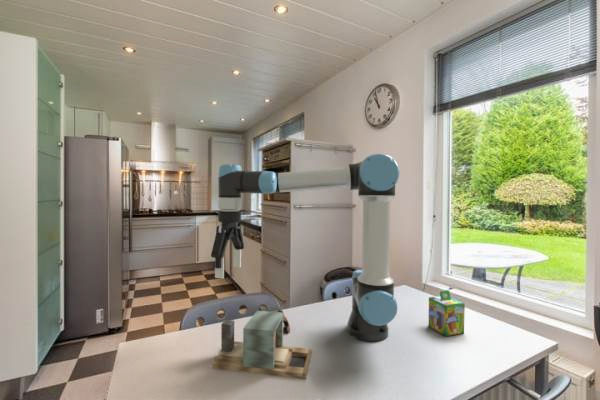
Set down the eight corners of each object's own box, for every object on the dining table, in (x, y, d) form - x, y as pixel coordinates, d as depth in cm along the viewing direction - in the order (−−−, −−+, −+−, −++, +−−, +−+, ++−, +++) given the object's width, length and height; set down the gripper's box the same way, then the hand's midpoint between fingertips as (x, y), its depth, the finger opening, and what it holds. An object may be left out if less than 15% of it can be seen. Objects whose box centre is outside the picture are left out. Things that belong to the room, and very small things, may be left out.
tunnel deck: (311, 353, 91) (312, 314, 91) (305, 379, 79) (306, 334, 78) (230, 345, 96) (230, 308, 96) (212, 368, 83) (212, 325, 83)
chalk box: (445, 337, 103) (446, 296, 103) (427, 326, 112) (427, 288, 111) (465, 333, 106) (466, 294, 105) (445, 323, 114) (446, 286, 114)
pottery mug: (291, 339, 102) (280, 321, 100) (268, 347, 103) (257, 330, 102) (293, 316, 113) (284, 300, 111) (273, 324, 115) (263, 309, 113)
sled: (288, 351, 90) (288, 322, 89) (283, 364, 83) (284, 332, 83) (227, 345, 93) (228, 317, 93) (218, 357, 86) (218, 326, 86)
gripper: (234, 208, 109) (234, 262, 109) (199, 212, 84) (198, 282, 85) (253, 208, 107) (252, 264, 108) (222, 212, 83) (222, 284, 83)
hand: (228, 272), depth 96 cm, fingers open, 13 cm apart
